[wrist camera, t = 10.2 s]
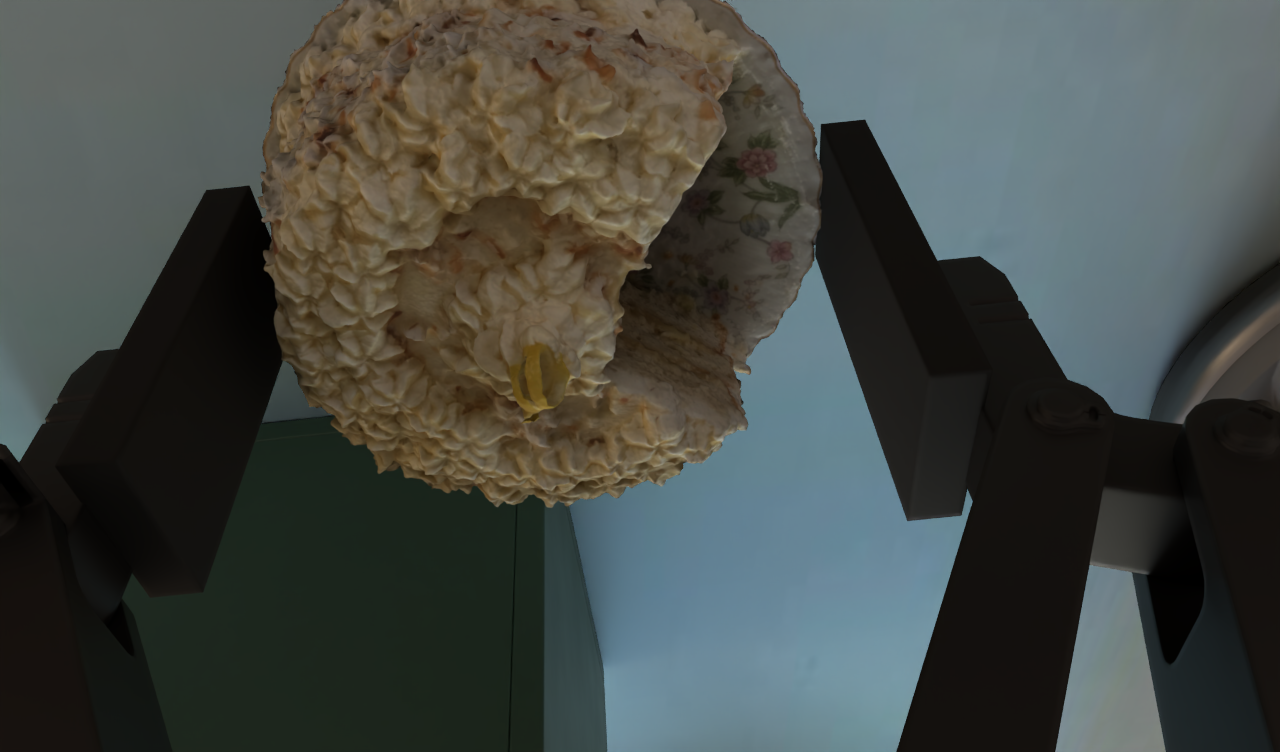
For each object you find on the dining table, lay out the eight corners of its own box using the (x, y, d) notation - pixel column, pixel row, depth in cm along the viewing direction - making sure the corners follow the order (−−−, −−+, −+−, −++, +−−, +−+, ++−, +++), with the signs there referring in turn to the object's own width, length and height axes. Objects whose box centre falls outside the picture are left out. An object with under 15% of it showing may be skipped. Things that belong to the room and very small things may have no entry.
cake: (402, 435, 22) (341, 642, 18) (160, 3, 15) (-23, 174, 11) (845, 367, 20) (888, 579, 16) (784, -151, 13) (833, -13, 9)
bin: (54, 446, 30) (-148, 827, 21) (545, 391, 30) (543, 751, 21) (246, 707, 41) (165, 1028, 32) (603, 668, 41) (618, 978, 32)
